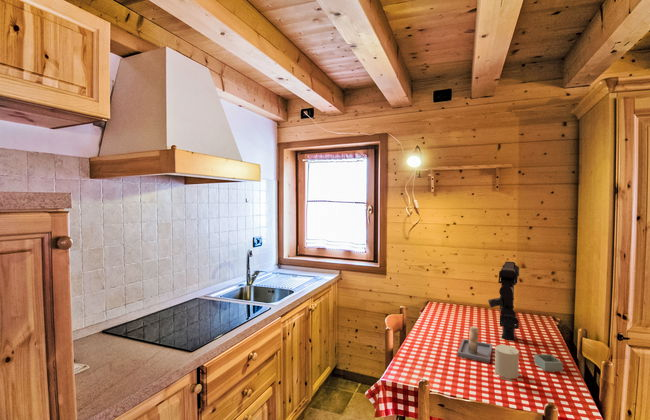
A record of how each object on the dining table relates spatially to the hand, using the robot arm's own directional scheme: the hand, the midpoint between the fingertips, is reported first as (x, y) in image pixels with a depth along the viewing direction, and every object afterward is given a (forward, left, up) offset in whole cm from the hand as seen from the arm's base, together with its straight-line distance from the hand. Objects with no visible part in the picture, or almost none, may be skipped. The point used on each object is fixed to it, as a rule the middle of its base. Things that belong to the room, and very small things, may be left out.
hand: (506, 325), depth 167 cm
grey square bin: (+13, +17, -12) cm, 25 cm away
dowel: (+13, -14, -12) cm, 22 cm away
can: (+28, +1, -13) cm, 31 cm away
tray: (+11, -13, -12) cm, 21 cm away
